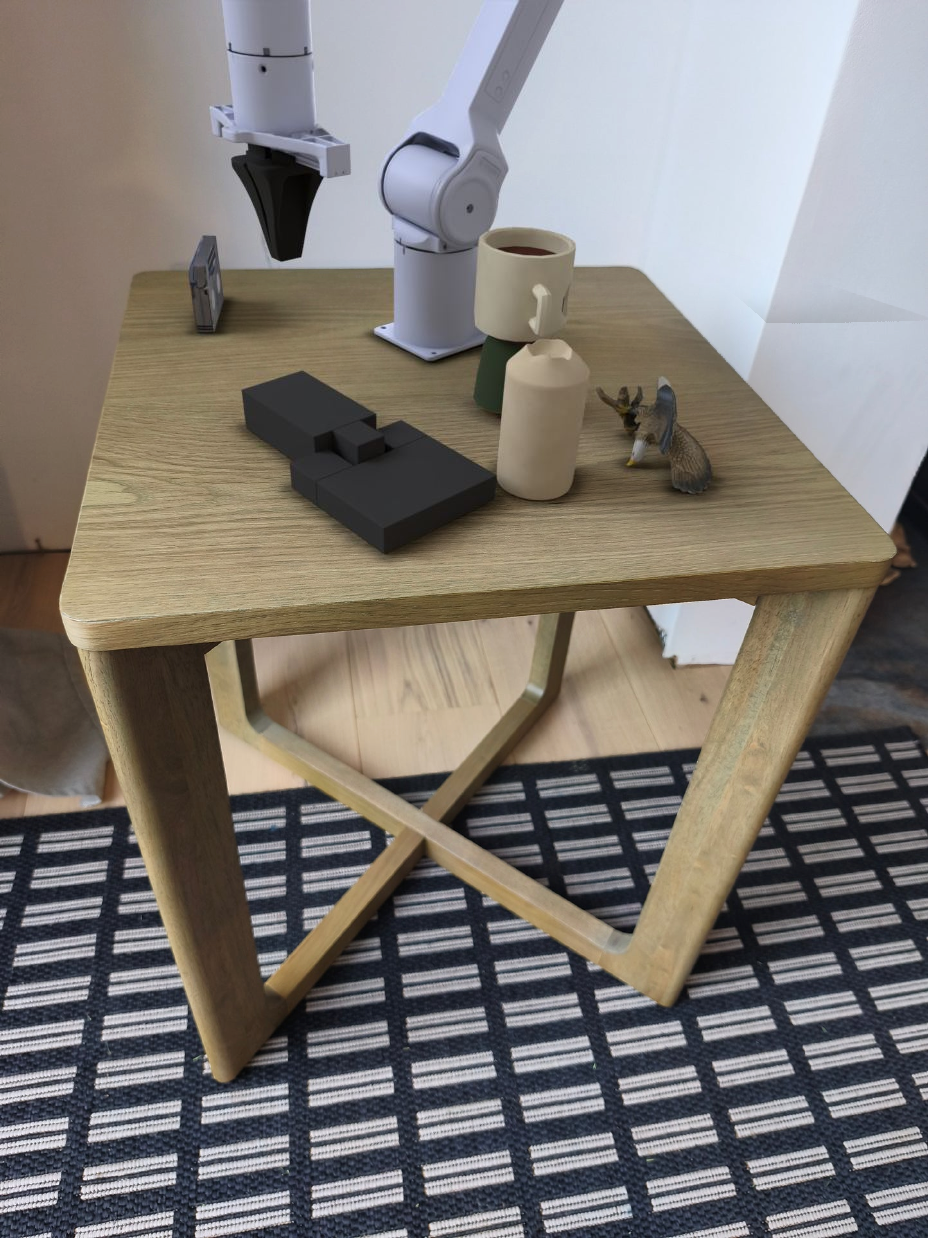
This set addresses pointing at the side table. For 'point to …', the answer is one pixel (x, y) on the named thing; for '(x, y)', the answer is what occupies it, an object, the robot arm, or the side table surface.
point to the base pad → (395, 487)
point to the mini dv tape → (206, 285)
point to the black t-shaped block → (311, 419)
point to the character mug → (517, 299)
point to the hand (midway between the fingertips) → (286, 257)
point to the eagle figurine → (663, 435)
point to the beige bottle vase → (541, 420)
